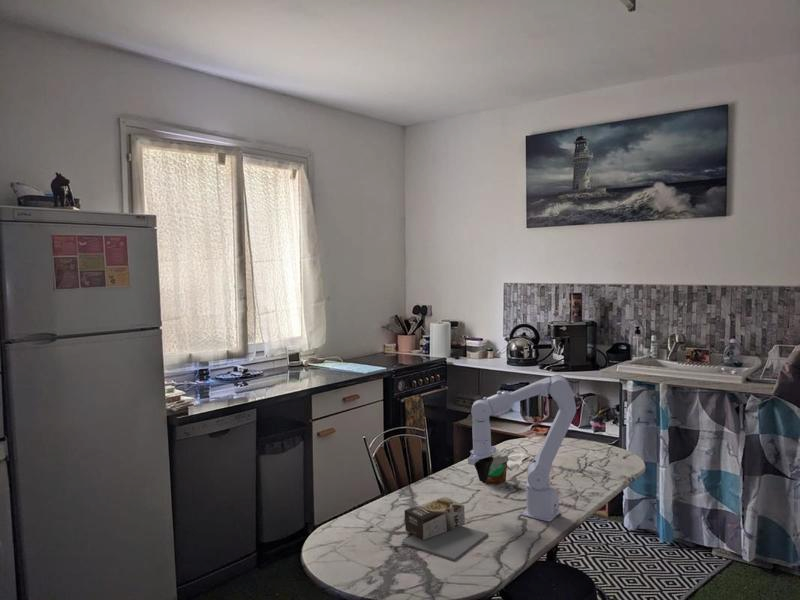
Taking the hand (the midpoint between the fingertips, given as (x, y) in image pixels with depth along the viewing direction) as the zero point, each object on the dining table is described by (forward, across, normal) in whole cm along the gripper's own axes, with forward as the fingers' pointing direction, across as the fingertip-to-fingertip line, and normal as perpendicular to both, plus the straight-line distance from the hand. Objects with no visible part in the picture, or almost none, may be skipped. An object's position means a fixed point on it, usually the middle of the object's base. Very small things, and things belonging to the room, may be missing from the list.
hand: (483, 480), depth 188 cm
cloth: (+11, -48, -14) cm, 52 cm away
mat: (+10, +23, 0) cm, 25 cm away
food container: (+10, -24, -11) cm, 28 cm away
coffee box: (+6, +11, -4) cm, 13 cm away
